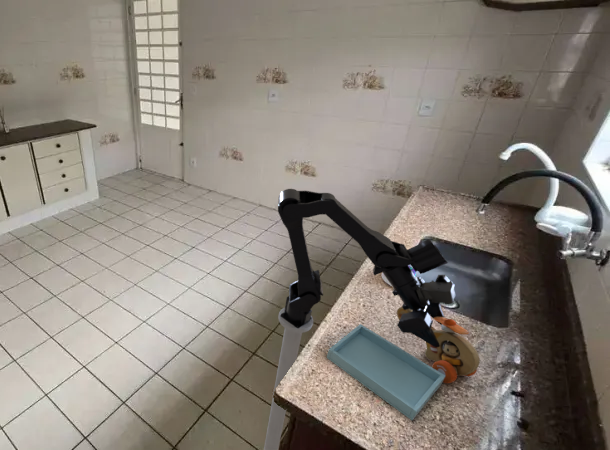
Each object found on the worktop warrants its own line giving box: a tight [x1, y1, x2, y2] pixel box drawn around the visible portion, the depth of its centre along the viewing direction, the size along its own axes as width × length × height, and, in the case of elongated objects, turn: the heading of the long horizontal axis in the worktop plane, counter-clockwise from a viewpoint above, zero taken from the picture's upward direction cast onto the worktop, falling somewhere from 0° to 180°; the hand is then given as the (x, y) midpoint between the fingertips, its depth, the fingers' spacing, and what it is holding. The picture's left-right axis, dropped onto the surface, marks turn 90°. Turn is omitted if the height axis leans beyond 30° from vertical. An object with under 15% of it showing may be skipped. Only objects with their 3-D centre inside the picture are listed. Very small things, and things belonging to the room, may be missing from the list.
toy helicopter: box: [396, 306, 481, 384], centre depth 86 cm, size 8×21×14 cm, turn 17°
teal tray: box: [326, 323, 445, 421], centre depth 84 cm, size 21×15×3 cm
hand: (441, 335), depth 85 cm, fingers open, 9 cm apart
